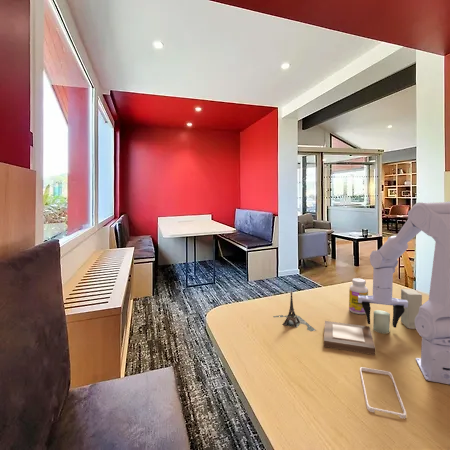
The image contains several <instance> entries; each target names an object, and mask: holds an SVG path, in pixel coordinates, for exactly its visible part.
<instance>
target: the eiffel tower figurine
mask: <svg viewBox="0 0 450 450" xmlns="http://www.w3.org/2000/svg"><path fill="white" fill-rule="evenodd" d="M289 305H290V306H289V310H288V314H287V315H282V314H281V315H272V316H273V318H285V320H284V322H283V323H282V325H283V326H287V327H291V328H295V329H297V328H298V327H299V326H300V325H305V326H307V327H306V330H307V331H309V332H315V331H316V329H315V328H314V327H313V326H312V325H311V324H310V323H308V322H307V321H306V320H305V319H303V318H302V317H301V316H300V315H297V314H296V312H295V309H294V301H293V291H292V289H291V291H290V302H289ZM279 316H280V317H279Z"/></svg>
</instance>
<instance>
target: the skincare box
mask: <svg viewBox="0 0 450 450" xmlns="http://www.w3.org/2000/svg"><path fill="white" fill-rule="evenodd" d="M400 299H402V300H407V301H408V308H405V307H404V309H405V311H404V313H403V314H402V315H401V317H400V322H401V323H402V325H404V326H405V328H407V329H411V330H412V329H413V330H416V327H415V317H416V316H417V314H418V312H419V307H420V306H422V305H423V304H422V303H423V294H422V293H421V292H419V291H418V290H416V289H414V288H401V289H400Z"/></svg>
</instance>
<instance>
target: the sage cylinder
mask: <svg viewBox="0 0 450 450" xmlns="http://www.w3.org/2000/svg"><path fill="white" fill-rule="evenodd" d="M390 320H391V313H390V312H388V311H385V310H380V309H376V310H374V311H373V323H372V326H373V327H372V329H373V331H375V332H377V333H379V334H384V335H385V334H389V333H390V327H391V326H390V323H391V322H390Z"/></svg>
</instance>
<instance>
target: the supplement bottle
mask: <svg viewBox="0 0 450 450" xmlns="http://www.w3.org/2000/svg"><path fill="white" fill-rule="evenodd" d="M351 282H352V284H351V285H349V290H348V291H349V294H348V295H349V296H348V297H349V299H348V310H349V312H351V313H353V314H356V315H366V313H365V311H364V308H363V306H362V303H358V295H359V296H369V288H368V287H367V286H366V283H367V282H366V280H365V279H364V278H360V277H358V278H357V277H356V278H355V277H354V278H352V281H351Z"/></svg>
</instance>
